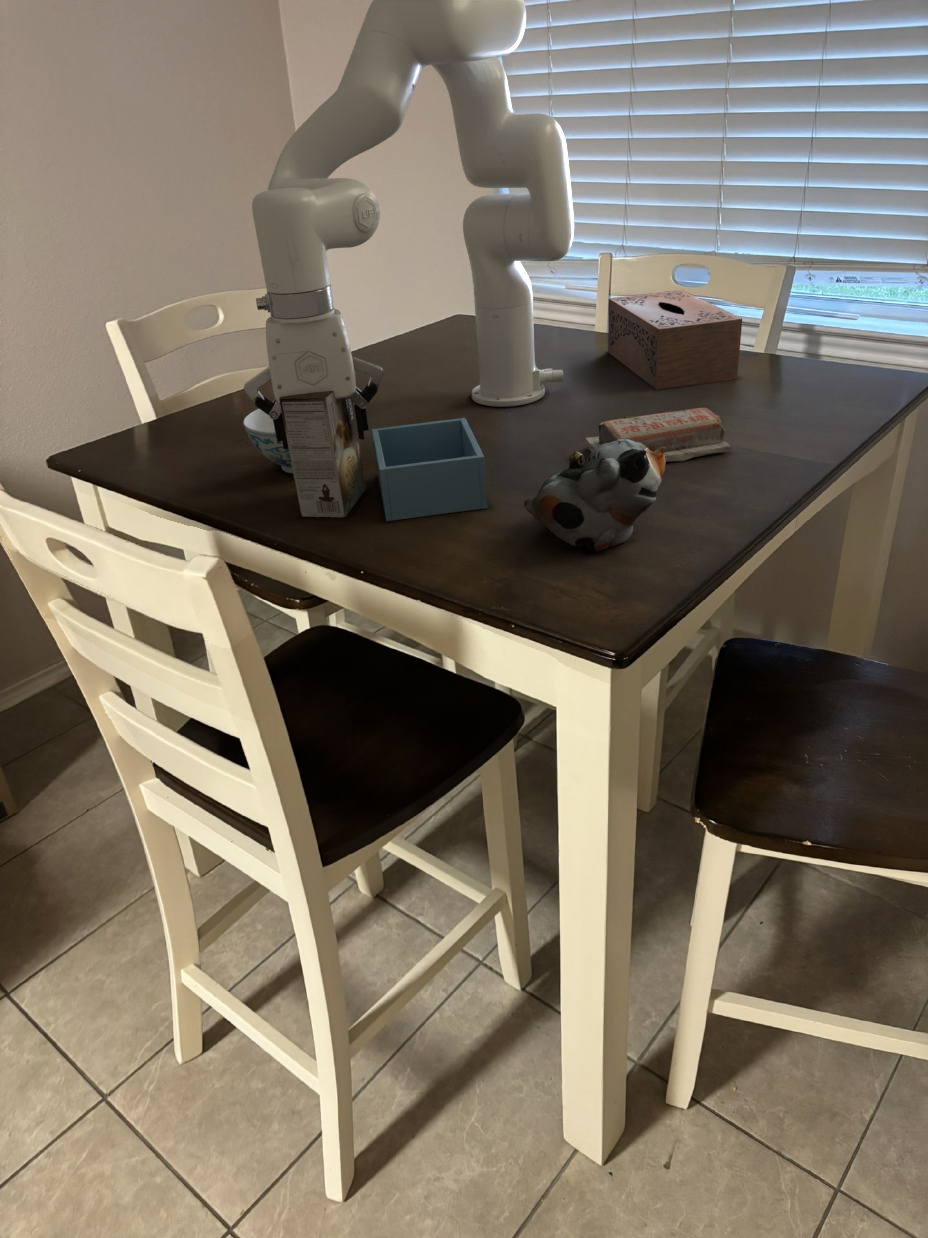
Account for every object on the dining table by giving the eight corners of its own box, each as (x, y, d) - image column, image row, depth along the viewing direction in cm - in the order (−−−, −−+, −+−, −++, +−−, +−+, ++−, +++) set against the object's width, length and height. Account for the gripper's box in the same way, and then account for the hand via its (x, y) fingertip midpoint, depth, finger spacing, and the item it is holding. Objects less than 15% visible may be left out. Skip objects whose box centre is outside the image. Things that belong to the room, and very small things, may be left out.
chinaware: (310, 491, 124) (300, 437, 120) (232, 475, 131) (221, 425, 127) (374, 454, 135) (368, 404, 131) (299, 441, 142) (291, 394, 138)
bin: (468, 464, 128) (465, 417, 124) (487, 508, 115) (484, 456, 111) (377, 476, 127) (371, 428, 123) (386, 521, 114) (379, 469, 110)
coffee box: (323, 489, 124) (303, 374, 116) (367, 490, 123) (350, 373, 115) (300, 517, 117) (277, 396, 108) (346, 518, 115) (327, 396, 107)
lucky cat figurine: (572, 497, 115) (628, 403, 108) (641, 555, 110) (704, 461, 103) (503, 507, 104) (560, 402, 97) (576, 571, 99) (642, 467, 92)
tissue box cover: (608, 351, 173) (608, 298, 168) (679, 342, 174) (681, 289, 169) (656, 389, 151) (658, 329, 146) (737, 378, 153) (742, 318, 147)
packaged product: (702, 399, 130) (734, 420, 122) (700, 431, 133) (731, 454, 124) (584, 416, 127) (608, 439, 119) (584, 448, 130) (608, 473, 122)
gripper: (225, 318, 102) (255, 459, 111) (375, 301, 104) (393, 442, 113) (230, 305, 109) (258, 439, 118) (371, 289, 110) (388, 423, 119)
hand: (324, 440), depth 115 cm, fingers open, 9 cm apart
